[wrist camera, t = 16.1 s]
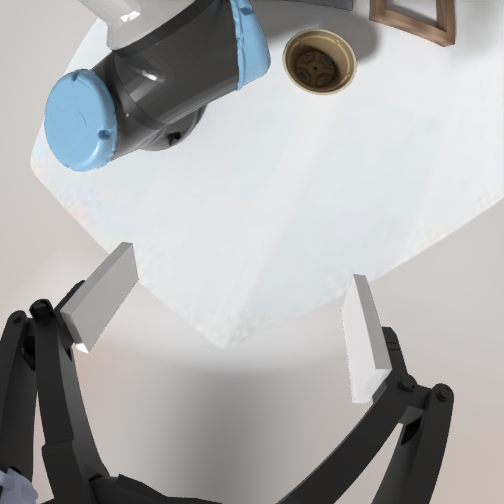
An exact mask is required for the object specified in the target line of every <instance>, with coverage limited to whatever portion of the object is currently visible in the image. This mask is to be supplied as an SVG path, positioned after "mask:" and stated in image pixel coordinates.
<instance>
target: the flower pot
mask: <svg viewBox="0 0 504 504" xmlns="http://www.w3.org/2000/svg"><path fill="white" fill-rule="evenodd" d="M307 55H309V57H307V58H306V59H303V58H304V57H305V56H307ZM325 58H327V59H329V61H330V62H331V64H329V63H328V62H327V61H326V60H325ZM283 65H284V69H285V71H286V73H287V75H288V77H289V78H290V80H291V81H292V82H293V83H294V84H295V85H296V86H298V87H299V88H301V89H302V90H304V91H306V92H309V93H312V94H317V95H330V94H334V93H337V92H339V91H341V90H343V89H344V88H346V87H347V86H348V85H349V84H350V83H351V82H352V80H353V78H354V76H355V73H356V69H357V61H356V57H355V54H354V52H353V50H352V48H351V46H350V45H349V44H348V43H347V42H346V41H345V40H344V39H343V38H342V37H340V36H339V35H337V34H335V33H333V32H331V31H328V30H324V29H308V30H304V31H301V32H299V33H297V34H296V35H295V36H293V37H292V38H291V39H290V40H289V41H288V43H287V44H286V46H285V49H284V52H283ZM315 67H316V68H317V69H314V68H315ZM300 73H303V74H304V76H305V77H306V79H303V78H302V76H301V74H300ZM326 78H328V79H327V81H326V82H324V83H321V81H322V80H324V79H326Z"/></svg>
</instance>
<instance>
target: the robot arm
mask: <svg viewBox="0 0 504 504" xmlns="http://www.w3.org/2000/svg"><path fill="white" fill-rule="evenodd" d="M78 1H79V2H81V3H82V4H83V5H84V6H86V7H87V8H88V9H89V10H91V11H92V12H93V13H94V14H96V15H97V16H98V17H99V18H100V19H101V20H103V21H104V22H105V23H106V24H107V26H108V31H107V43H106V44H107V47H108V48H109V49H111V50H112V52H111V53H110V54H109V55H107V56H106V57H105V58H104V59H103V60H101V61H100V62H99V63H98V64H97V65H96V66H95V67H93V68H92V69H90V70H88V69H78V70H76V71H74V72H71V73H68V74H66V75H65V76H63V77H62V78H61V79H60V80H59V81H58V82H57V83H56V84H55V86H54V87H53V88H52V90H51V92H50V94H49V97H48V99H47V103H46V107H45V122H44V127H45V134H46V138H47V141H48V144H49V146H50V149H51V150H52V152H53V154H54V155H55V157H56V158H57V159H58V161H60V162H61V163H62V164H63V165H64V166H66V167H68V168H71V169H72V170H74V171H79V172H84V171H89V170H92V169H95V168H97V169H98V168H100V167H103V166H105V165H106V164H107V163H108V162H110V161H112V160H115V159H117V158H119V157H121V156H123V155H126V154H128V153H130V152H133V151H135V150H137V149H142V150H147V151H159V150H164V149H167V148H170V147H172V146H174V145H176V144H178V143H180V142H181V141H183V140H184V139H185V138H186V137H187V136H188V135H189V134H190V132H191V131H192V130H193V128H194V126H195V124H196V122H197V120H198V117H199V112H200V107H202V106H204V105H206V104H208V103H210V102H212V101H214V100H216V99H218V98H220V97H222V96H224V95H226V94H228V93H230V92H232V91H234V90H236V91H238V90H240V89H241V88H242V86H244V85H246V84H248V83H249V82H252V81H254V80H256V79H258V78H260V77H262V76H263V75H264V74H265V73H266V72H267V71H268V69H269V67H270V63H271V61H270V53H269V49H268V46H267V42H266V39H265V36H264V34H263V31H262V28H261V26H260V23H259V21H258V19H257V16H256V14H255V13H254V12H253V8H252V6H251V4H250V2H249V0H78ZM138 280H139V279H138V274H137V268H136V262H135V256H134V249H133V243H126V242H122V243H121V244H120V245H119V246H118V247H117V248H116V249H115V250H114V251H113V252H112V253H111V254H110V255H109V256H108V257H107V258H106V259H105V260H104V262H103V263H102V264H101V265H100V266H99V267H98V268H97V269H96V270H95V271H94V272H93V273H92V274H91V276H90V277H89V278H88V279H87V280H86V281H85V280H82V281H80V282H79V283H77V284H75V286H74V287H73V288H72V289H71V290H70V292H68V293H67V295H66V296H65V297H64V298H63V299H62V300H61V301H60V303H59V304H58V305H57V306H56V307H55V308H54V310H53V307H52V305H51V303H50V301H49V300H47V299H39V300H37V301H35V302H34V303H33V304H32V305H31V306H30V309H29V311H30V313H31V315H32V317H33V318H28V317H27V315H26V313H25V312H24V311H21V310H19V311H15V312H14V313H12V314H11V315H10V317H9V318H8V320H7V323H6V326H5V328H4V331H3V335H2V337H1V340H0V504H36V502H35V500H36V499H37V498H38V494H37V492H36V490H35V489H34V488H33V486H32V484H31V483H32V476H33V435H34V419H35V407H36V397H37V390H38V398H39V407H40V414H41V420H42V426H43V432H44V437H45V445H43V446H42V449H41V450H42V456H43V461H44V464H45V468H46V472H47V476H48V479H49V483H50V486H51V489H52V492H53V495H54V499H51V500H49V501H46V502H44V503H41V504H222V503H217V502H212V501H207V500H202V499H198V498H181V497H167V496H165V495H162V494H161V493H159V492H157V491H156V490H154V489H152V488H151V487H149V486H147V485H145V484H144V483H142V482H139V481H137V480H134V479H131V478H128V477H126V476H124V475H121V474H119V476H118V477H110V475H109V472H108V471H107V469H106V467H105V466H104V464H103V463H102V461H101V459H100V457H99V454H98V451H97V448H96V445H95V442H94V439H93V436H92V433H91V429H90V426H89V423H88V419H87V415H86V412H85V408H84V404H83V400H82V396H81V391H80V387H79V382H78V377H77V372H76V367H75V361H74V355H73V350H72V347H71V346H72V344H73V343H75V345H76V346H77V349H79V350H81V351H84V352H86V353H89V352H90V350H91V349H92V347H93V346H94V344H95V343H96V341H97V339H98V338H99V336H100V335H101V333H102V332H103V330H104V329H105V327H106V326H107V324H108V323H109V321H110V320H111V318H112V317H113V315H114V314H115V312H116V311H117V310H118V308H119V306H120V305H121V304H122V302H123V301H124V299H125V298H126V297H127V295H128V293H129V292H130V291H131V290H132V288H133V287H134V285H135V284H136V283H137V281H138ZM341 315H342V321H343V328H344V335H345V342H346V349H347V357H348V364H349V373H350V382H351V392H352V401H353V403H368V401H369V400H370V399H371V398H373V405H372V406H371V407H370V408H369V410H368V411H367V412H366V413H365V415H364V416H363V417H362V419H361V420H360V421H359V422H358V424H357V425H356V426H355V427H354V428H353V429H352V431H351V432H350V433H349V434H348V435H347V436H346V437H345V439H344V440H343V441H342V442H341V443H340V444H339V445H338V446H337V447H336V448H335V449H334V451H333V452H332V453H331V454H330V455H329V456H328V457H327V458H326V459H325V460H324V461H323V462H322V463H321V464H320V465H319V466H318V467H317V468H316V469H315V470H314V471H313V472H312V473H311V474H310V475H309V476H307V477H306V478H305V479H304V480H303V481H302V482H301V483H300V484H299V485H298V486H296V487H295V488H294V489H293V490H292V491H291V492H290V493H288V494H287V495H286V496H285V497H283V498H282V499H281V500H280V501H279V502H278V503H276V504H334V503H335V502H336V501H337V500H338V499H339V498H340V497H341V496H342V494H343V493H344V492H345V491H346V490H347V489H348V488H349V487H350V486H351V484H352V483H353V482H354V481H355V480H356V479H357V478H358V476H359V475H360V474H361V473H362V472H363V470H364V469H365V468H366V467H367V465H368V464H369V463H370V462H371V460H372V459H373V458H374V456H375V455H376V454H377V452H378V451H379V450H380V448H381V447H382V446H383V444H384V442H385V441H386V440H387V438H388V437H389V436H390V434H391V433H392V431H393V430H394V428H395V427H396V425H397V424H398V423H401V424H403V427H402V430H401V433H400V436H399V439H398V442H397V445H396V448H395V450H394V453H393V456H392V459H391V461H390V463H389V466H388V469H387V471H386V473H385V476H384V478H383V480H382V482H381V485H380V487H379V489H378V491H377V493H376V496H375V497H374V499H373V502H372V503H371V504H429V502H430V500H431V497H432V494H433V491H434V488H435V484H436V481H437V478H438V475H439V471H440V468H441V463H442V460H443V456H444V452H445V448H446V443H447V438H448V433H449V428H450V421H451V416H452V410H453V402H454V394H453V391H452V390H451V389H450V387H449V386H447V385H445V384H442V383H441V384H436V385H435V386H434V387H433V388H432V389H431V388H427V387H423V386H420V385H418V384H417V382H416V380H415V379H414V378H413V377H412V376H411V375H409V374H408V373H407V369H406V366H405V362H404V359H403V355H402V351H401V348H400V345H399V341H398V338H397V335H396V334H395V332H394V331H393V330H392V328H391V327H381V324H380V321H379V317H378V314H377V311H376V308H375V304H374V301H373V298H372V294H371V291H370V288H369V285H368V282H367V279H366V276H365V275H357V274H353V276H352V279H351V282H350V285H349V288H348V291H347V294H346V296H345V299H344V302H343V305H342V308H341Z"/></svg>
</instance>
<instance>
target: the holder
mask: <svg viewBox="0 0 504 504" xmlns="http://www.w3.org/2000/svg"><path fill="white" fill-rule="evenodd" d="M436 8H437V28H435V27H433V26H430V25H428V24H426V23H423V22H421V21H418V20H416V19H413V18H411V17H408V16H405V15H402V14H400V13H397V12H394V11H391V10H387V9H386V0H370V12H369V20H371V21H374V22H378V23H381V24H385V25H388V26H391V27H394V28H397V29H400V30H403V31H406V32H409V33H411V34H414V35H417V36H419V37H422V38H424V39H427V40H429V41H431V42H434V43H436V44H438V45H441V46H443V47H445V46H450V45H454V44H455V17H454V0H436Z"/></svg>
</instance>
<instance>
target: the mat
mask: <svg viewBox="0 0 504 504" xmlns="http://www.w3.org/2000/svg"><path fill="white" fill-rule="evenodd" d="M288 1H297V2H306V3H313V4H319V5H326V6H331V7H336V8H341V9H346V10H352V0H288Z"/></svg>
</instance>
